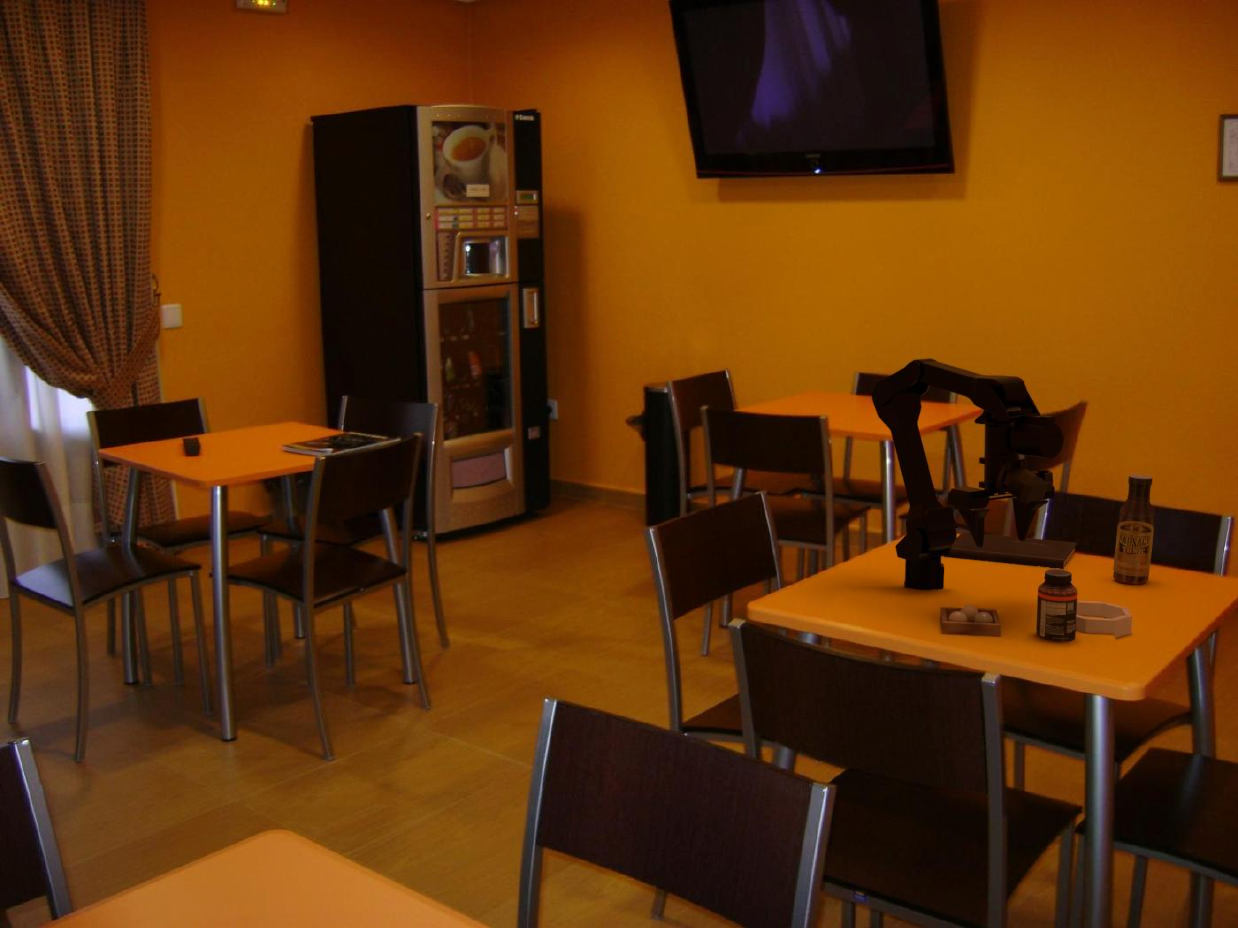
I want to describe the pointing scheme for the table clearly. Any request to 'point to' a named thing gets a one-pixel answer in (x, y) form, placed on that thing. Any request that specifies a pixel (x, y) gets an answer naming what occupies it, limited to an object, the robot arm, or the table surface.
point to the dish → (1112, 623)
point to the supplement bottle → (1057, 607)
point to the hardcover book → (1013, 550)
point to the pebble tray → (970, 624)
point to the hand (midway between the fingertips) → (1000, 543)
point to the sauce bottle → (1135, 533)
